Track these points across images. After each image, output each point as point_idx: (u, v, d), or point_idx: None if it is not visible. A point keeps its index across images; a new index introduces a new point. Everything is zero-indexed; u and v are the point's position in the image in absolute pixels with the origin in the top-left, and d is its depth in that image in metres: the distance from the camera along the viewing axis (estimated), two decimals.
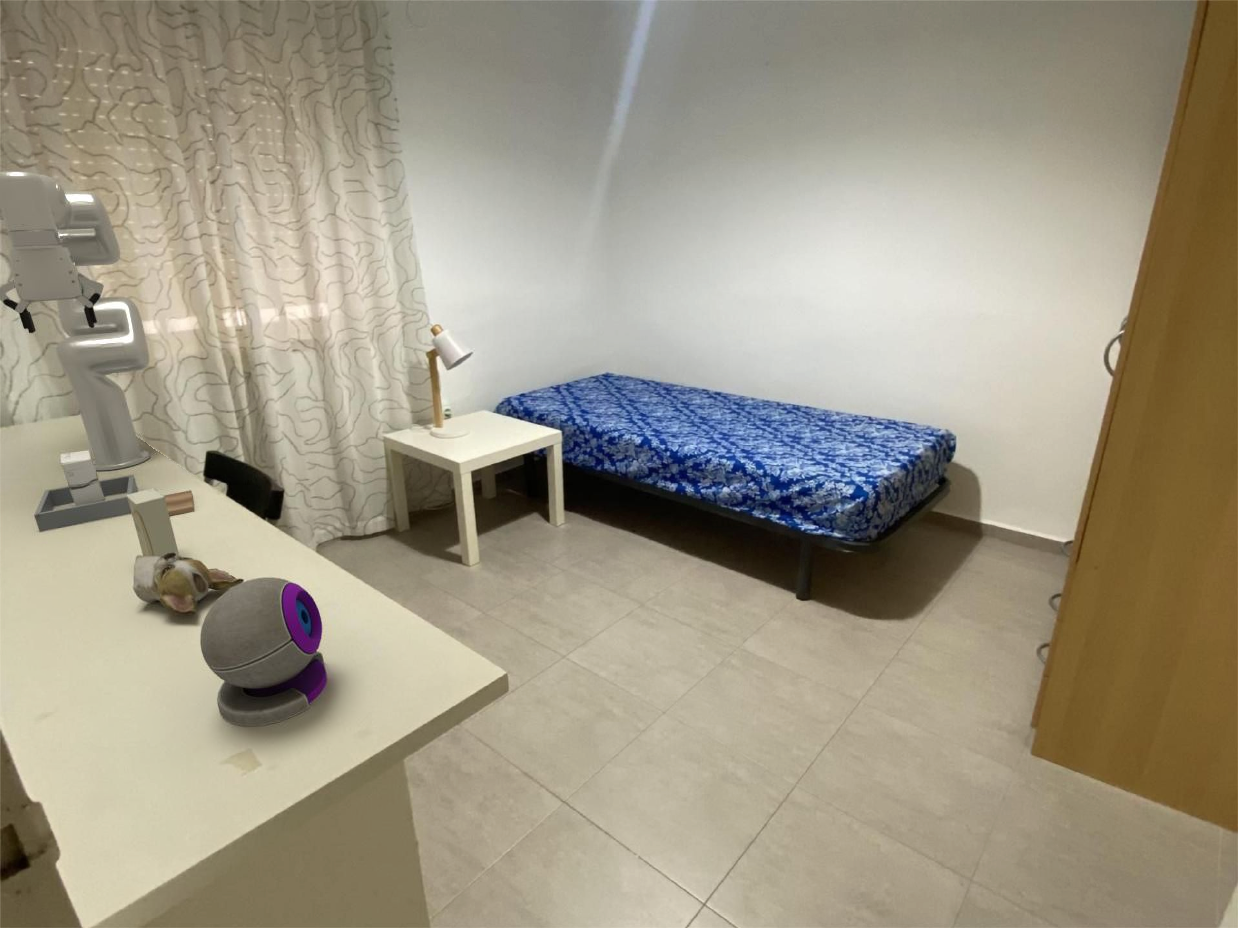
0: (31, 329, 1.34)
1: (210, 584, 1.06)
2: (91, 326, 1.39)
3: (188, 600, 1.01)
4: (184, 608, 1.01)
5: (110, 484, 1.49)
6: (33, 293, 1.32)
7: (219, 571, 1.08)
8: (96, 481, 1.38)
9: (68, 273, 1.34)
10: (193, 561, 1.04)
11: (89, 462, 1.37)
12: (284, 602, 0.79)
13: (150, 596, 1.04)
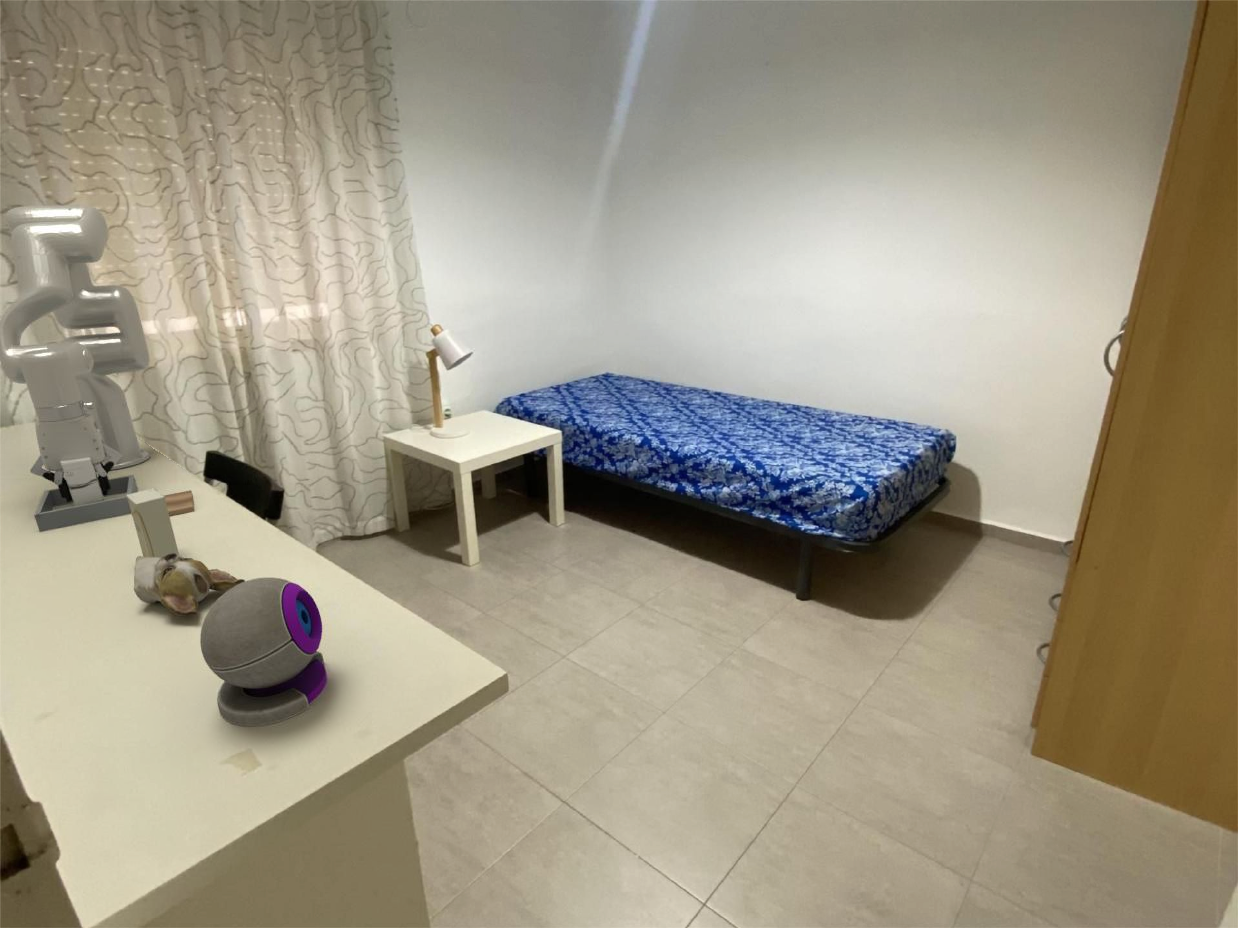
0: (69, 498, 1.38)
1: (211, 585, 1.06)
2: (105, 494, 1.41)
3: (189, 601, 1.01)
4: (185, 609, 1.01)
5: (110, 484, 1.49)
6: (58, 463, 1.35)
7: (220, 572, 1.08)
8: (96, 481, 1.38)
9: (92, 441, 1.37)
10: (194, 562, 1.04)
11: (89, 462, 1.37)
12: (284, 602, 0.79)
13: (151, 597, 1.03)
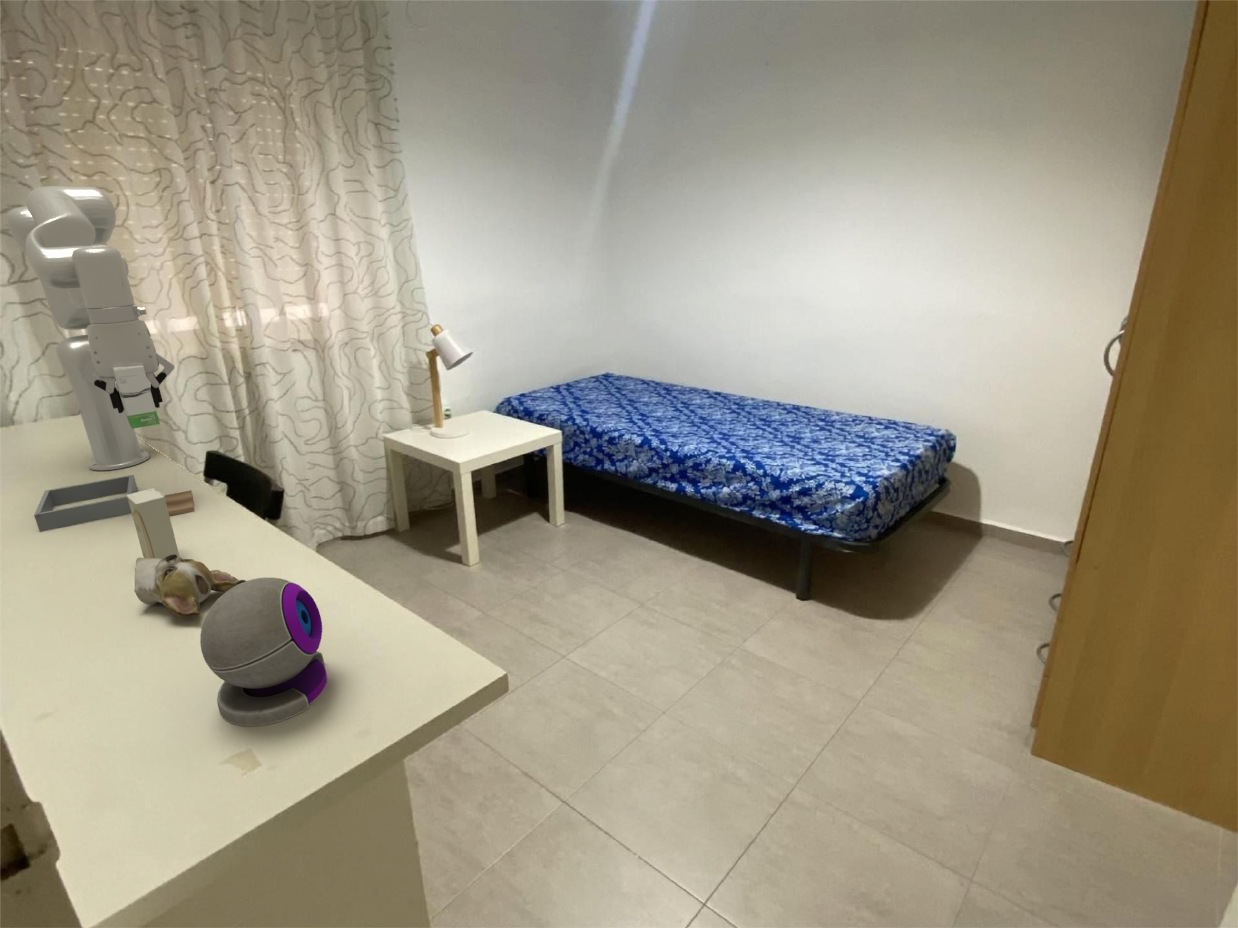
0: (121, 409, 1.32)
1: (212, 586, 1.05)
2: (157, 406, 1.35)
3: (191, 602, 1.01)
4: (186, 610, 1.01)
5: (110, 484, 1.49)
6: (111, 370, 1.29)
7: (221, 572, 1.08)
8: (149, 391, 1.31)
9: (145, 348, 1.31)
10: (195, 563, 1.03)
11: (142, 369, 1.30)
12: (284, 602, 0.79)
13: (152, 598, 1.03)
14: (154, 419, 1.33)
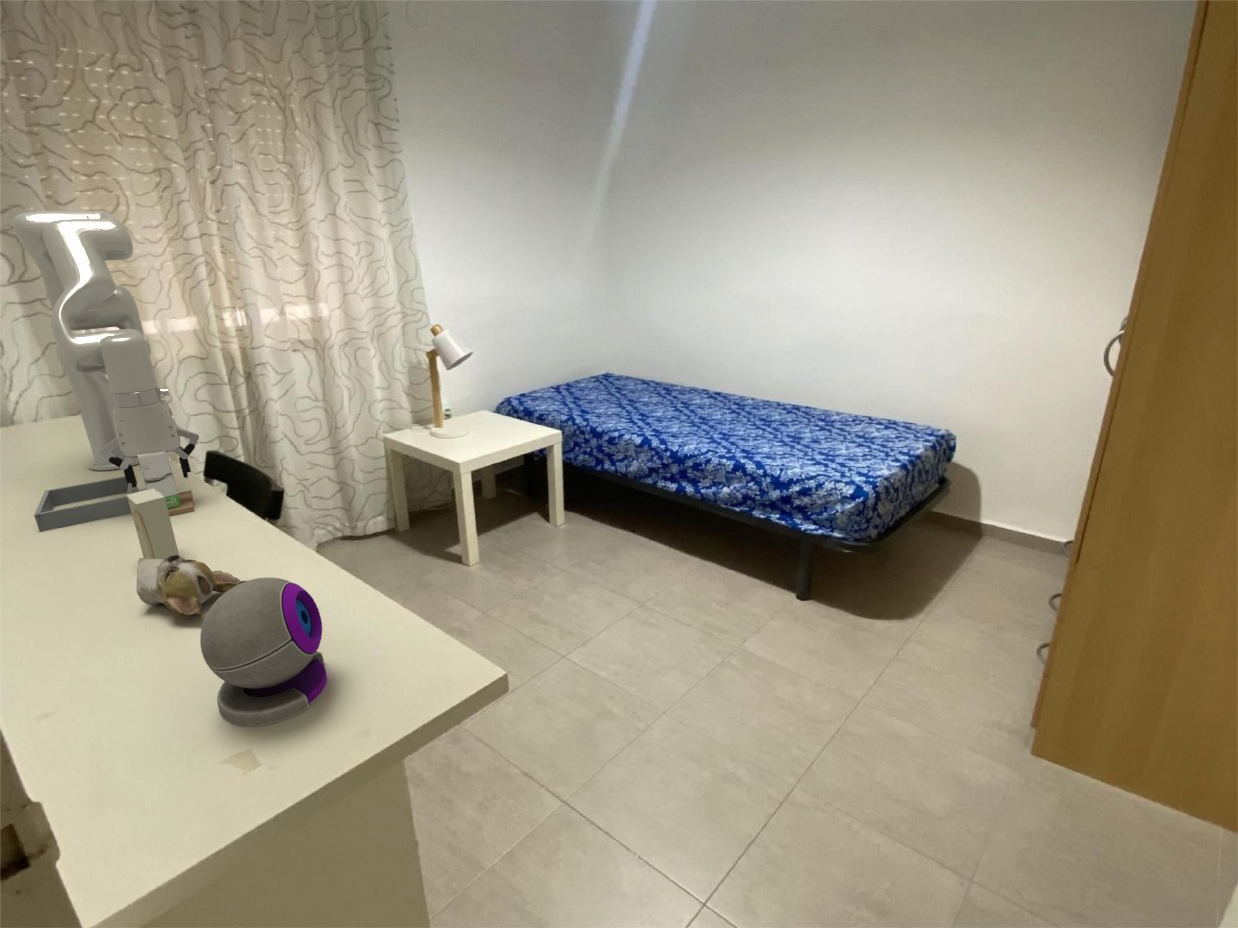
0: (134, 484, 1.36)
1: (214, 586, 1.05)
2: (186, 476, 1.41)
3: (193, 603, 1.01)
4: (188, 610, 1.00)
5: (110, 484, 1.49)
6: (135, 450, 1.34)
7: (223, 573, 1.08)
8: (170, 475, 1.37)
9: (168, 428, 1.36)
10: (197, 563, 1.03)
11: (164, 456, 1.36)
12: (284, 602, 0.79)
13: (154, 599, 1.03)
14: (175, 502, 1.39)
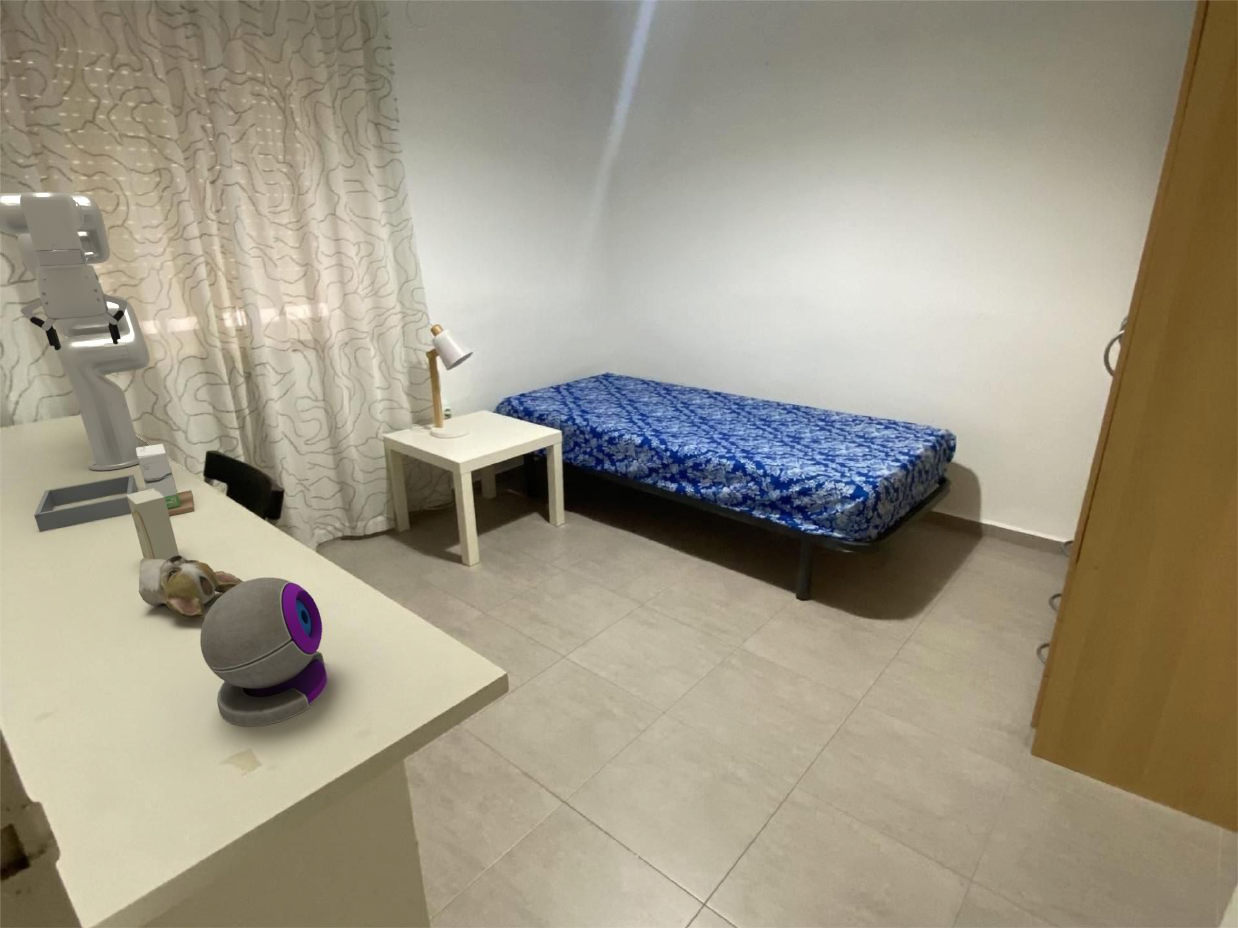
0: (57, 346, 1.36)
1: (216, 587, 1.05)
2: (115, 343, 1.41)
3: (195, 603, 1.00)
4: (191, 611, 1.00)
5: (110, 484, 1.49)
6: (59, 311, 1.34)
7: (225, 574, 1.07)
8: (170, 475, 1.37)
9: (93, 291, 1.36)
10: (199, 564, 1.03)
11: (164, 456, 1.36)
12: (284, 602, 0.79)
13: (156, 599, 1.03)
14: (175, 502, 1.39)
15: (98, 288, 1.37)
